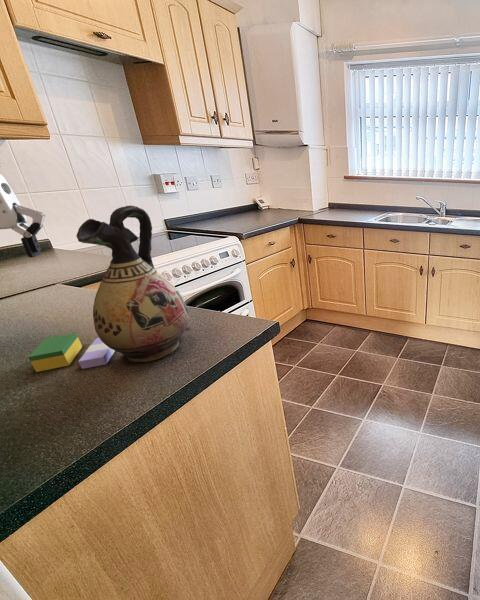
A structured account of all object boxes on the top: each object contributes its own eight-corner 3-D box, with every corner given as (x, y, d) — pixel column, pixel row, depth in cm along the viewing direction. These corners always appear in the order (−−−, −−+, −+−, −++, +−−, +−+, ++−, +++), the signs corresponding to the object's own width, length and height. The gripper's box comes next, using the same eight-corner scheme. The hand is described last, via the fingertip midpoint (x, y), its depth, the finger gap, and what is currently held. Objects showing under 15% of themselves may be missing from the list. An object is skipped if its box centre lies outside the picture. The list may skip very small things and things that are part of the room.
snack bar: (106, 364, 68) (103, 356, 67) (81, 369, 66) (77, 361, 65) (121, 341, 76) (118, 334, 75) (99, 344, 74) (96, 337, 74)
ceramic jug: (149, 378, 63) (88, 217, 51) (91, 364, 68) (22, 213, 55) (218, 334, 78) (184, 202, 66) (167, 326, 82) (126, 199, 70)
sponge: (52, 352, 72) (45, 338, 70) (82, 346, 74) (76, 332, 72) (36, 372, 65) (27, 357, 64) (69, 365, 67) (62, 350, 66)
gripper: (34, 166, 67) (66, 249, 74) (-94, 165, 60) (-46, 257, 67) (14, 167, 61) (51, 258, 68) (-132, 166, 54) (-75, 268, 61)
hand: (2, 258), depth 67 cm, fingers open, 9 cm apart
